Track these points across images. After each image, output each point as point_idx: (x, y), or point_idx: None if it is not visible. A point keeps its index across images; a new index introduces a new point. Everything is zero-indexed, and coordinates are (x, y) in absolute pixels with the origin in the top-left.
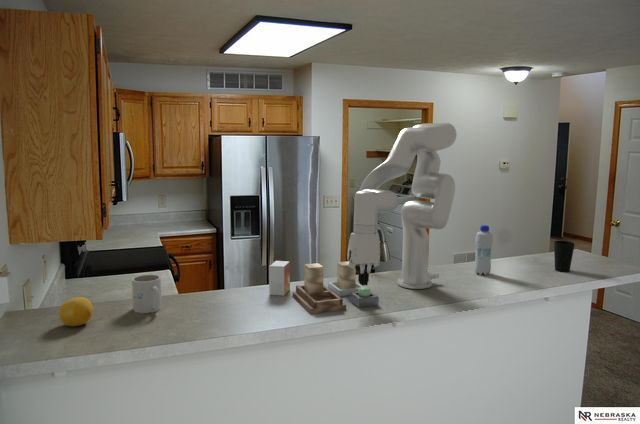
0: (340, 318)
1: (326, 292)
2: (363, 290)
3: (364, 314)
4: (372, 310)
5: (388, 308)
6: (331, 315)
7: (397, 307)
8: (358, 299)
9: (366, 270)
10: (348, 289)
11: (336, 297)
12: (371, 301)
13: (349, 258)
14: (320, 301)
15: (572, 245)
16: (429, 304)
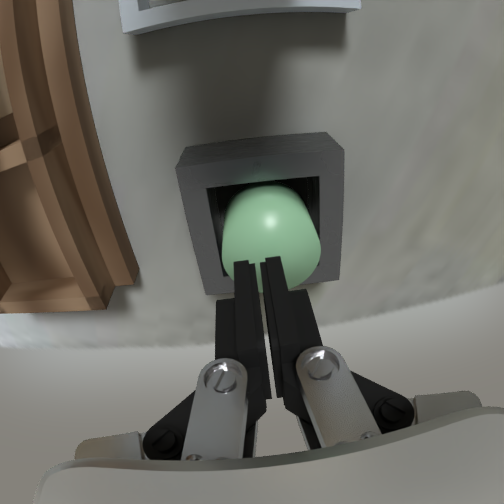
0: (112, 340)
1: (14, 166)
2: None
3: (212, 328)
4: None
5: (349, 288)
6: (78, 311)
7: (391, 283)
8: (204, 282)
9: (297, 416)
10: (207, 10)
11: (72, 270)
12: None
13: (56, 497)
14: (13, 308)
15: None
16: (500, 271)
